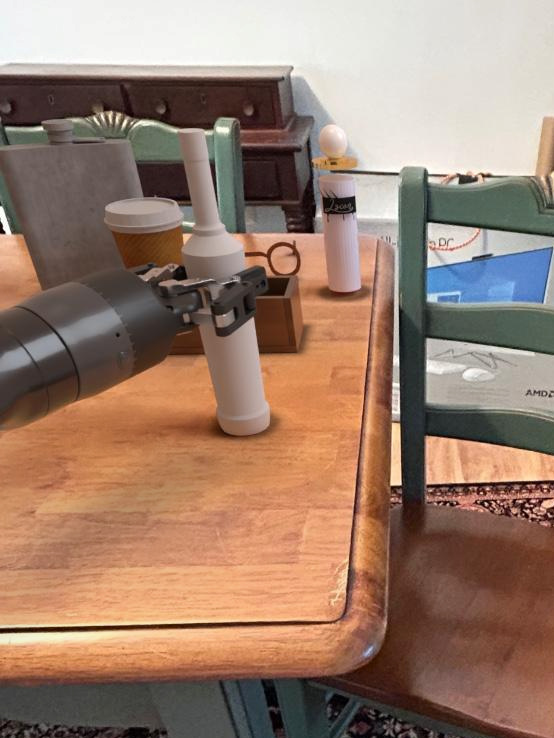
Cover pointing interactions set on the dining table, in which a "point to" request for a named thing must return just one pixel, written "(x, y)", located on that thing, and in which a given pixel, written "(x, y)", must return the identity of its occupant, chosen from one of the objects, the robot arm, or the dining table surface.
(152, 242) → the disposable coffee cup
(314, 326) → the dining table surface
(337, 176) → the perfume bottle
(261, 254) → the glasses
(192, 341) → the rack
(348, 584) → the dining table surface
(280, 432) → the dining table surface
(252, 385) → the bottle
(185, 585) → the dining table surface
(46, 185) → the hip flask
